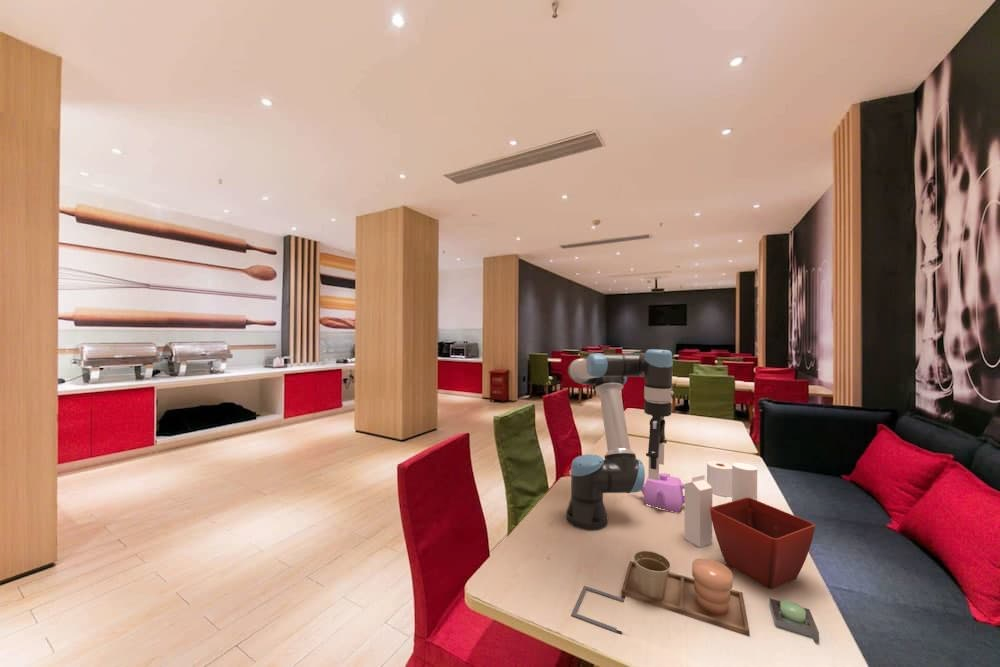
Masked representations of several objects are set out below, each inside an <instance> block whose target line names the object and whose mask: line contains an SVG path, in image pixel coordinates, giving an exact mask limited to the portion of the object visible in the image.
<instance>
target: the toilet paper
mask: <svg viewBox="0 0 1000 667" xmlns="http://www.w3.org/2000/svg"><path fill="white" fill-rule="evenodd" d="M706 482H707V483H708V484H709V485H710V486H711V487H712V495H715V496H719V497H732V464H730V463H727V462H725V461H724V462H723V461H715V460H714V461H712V460H710V461H708V462H707V463H706Z"/></svg>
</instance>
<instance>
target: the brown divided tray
mask: <svg viewBox="0 0 1000 667" xmlns="http://www.w3.org/2000/svg"><path fill="white" fill-rule="evenodd" d="M626 570H627V571H626V573H625V577H624V581H623V584H622V587H621V590H620V592H621V593H620V596H621V597H620V598H623V599H626V597H628V598H631V599H633V600H637V601H640V602H644V603H647V604H649V605H653V606H655V607H657V608H658V607H659V608H662V609H665V610H667V611H671V612H673V613H677V614H681V615H684V616H686V617H689V618H693V619H696V620H698V621H702V622H705V623H708V624H711V625H714V626H717V627H719V628H724V629H726V630H729V631H731V632H735V633H738V634H741V635H745V636H747V637H751V636H750V635H751V634H750V626H749V622H748V615H747V609H746V604H745V600H744V599H745V598H744V594H743V592H741V591H739V590H735V589H732V588H731V589H730V601H729V602H728V612H727V613H726V614H724V615H715V614H712V613H709V612H707V611H705V610H703V609H702V608H701V607H700V606H699V605H698V604H697V602H696V592H695V589H694V578H692V577H688V576H684V575H681V574H678V573H674V572H671V571H669V573H668V575H667V581H666V588H665V596H664V597H663V599H662V600H656V599H653V598H650V597H647V596H643V595H642V594H641V593H640V590H639V583H638V575H637V568H636V566H635V562H634V561H632V560H629V563H628V566H627V569H626Z"/></svg>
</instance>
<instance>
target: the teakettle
mask: <svg viewBox="0 0 1000 667" xmlns="http://www.w3.org/2000/svg"><path fill="white" fill-rule="evenodd" d="M685 484H686V483H682V482H681V479H680V478H678V477H674V476H671V474H669V473H659V481H658V480H653V479H648V477H647V478H646V480H645V482H644V484H643V487H642V489H641V490H640V491H641V493H642V495H643V503H644V505H645V504H648V505H651V506H654V507H658V508H661V509H665V510H668V511H667V512H669V511H673V512H672V513H674V512H679V511H680V512H681V509H682V507H683V504H685V495H684V490H685ZM683 489H684V490H683ZM680 512H679V513H680Z"/></svg>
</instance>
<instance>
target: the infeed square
mask: <svg viewBox="0 0 1000 667" xmlns="http://www.w3.org/2000/svg"><path fill="white" fill-rule="evenodd" d="M587 591H588V592H591V593H594V594H597V595H600V596H603V597H605V598H610V599H611V600H615V601H618V602H620V603H625V599H626V598H622V597H620V596H617V595H614V594H610V593H608V592H604V591H602V590H599V589H595V588H593V587H589V586H586V585H583V587H582V589H581V591H580V594H579V595H578V598H577V600H576V602H575V604H574V606H573V609H572V611H571V615H570V616H571V617H572V618H576V619H579V620H581V621H584V622H587V623H590V624H592V625H595V626H598V627H599V628H603V629H606V630H608V631H610V632H613V633H615V634H619V635H622V634H623V631H621V630H618V629H617V627H614V626H612V625H609V624H606V623H603V622H600V621H598V620H595V619H592V618H590V617H587V616H584V615H581V614H578V611H579V608H580V606H581V605H582V602H583V599H584V597H585V594H586V593H587Z"/></svg>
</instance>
